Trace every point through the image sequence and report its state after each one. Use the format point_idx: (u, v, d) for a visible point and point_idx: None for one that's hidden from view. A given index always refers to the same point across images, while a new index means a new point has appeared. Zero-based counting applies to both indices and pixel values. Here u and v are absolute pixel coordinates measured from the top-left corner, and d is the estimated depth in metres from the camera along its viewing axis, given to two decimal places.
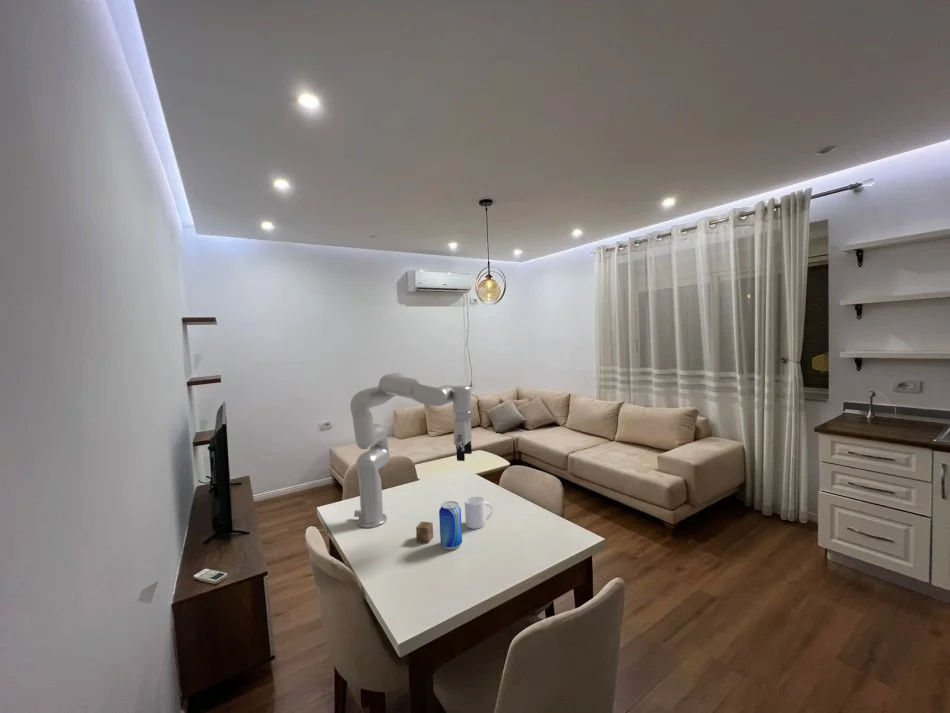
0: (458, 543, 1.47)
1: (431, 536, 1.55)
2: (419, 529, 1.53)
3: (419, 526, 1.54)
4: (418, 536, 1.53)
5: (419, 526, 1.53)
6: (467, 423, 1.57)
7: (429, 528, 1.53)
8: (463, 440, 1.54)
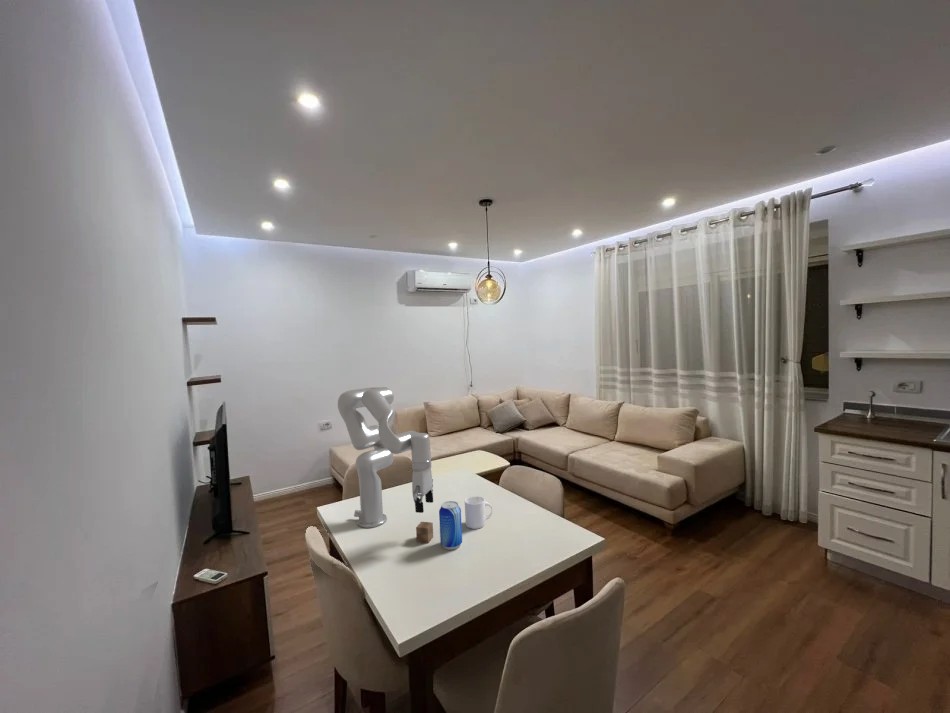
0: (458, 543, 1.47)
1: (431, 536, 1.55)
2: (419, 529, 1.53)
3: (419, 526, 1.54)
4: (418, 536, 1.53)
5: (419, 526, 1.53)
6: (426, 472, 1.52)
7: (429, 528, 1.53)
8: (421, 491, 1.49)
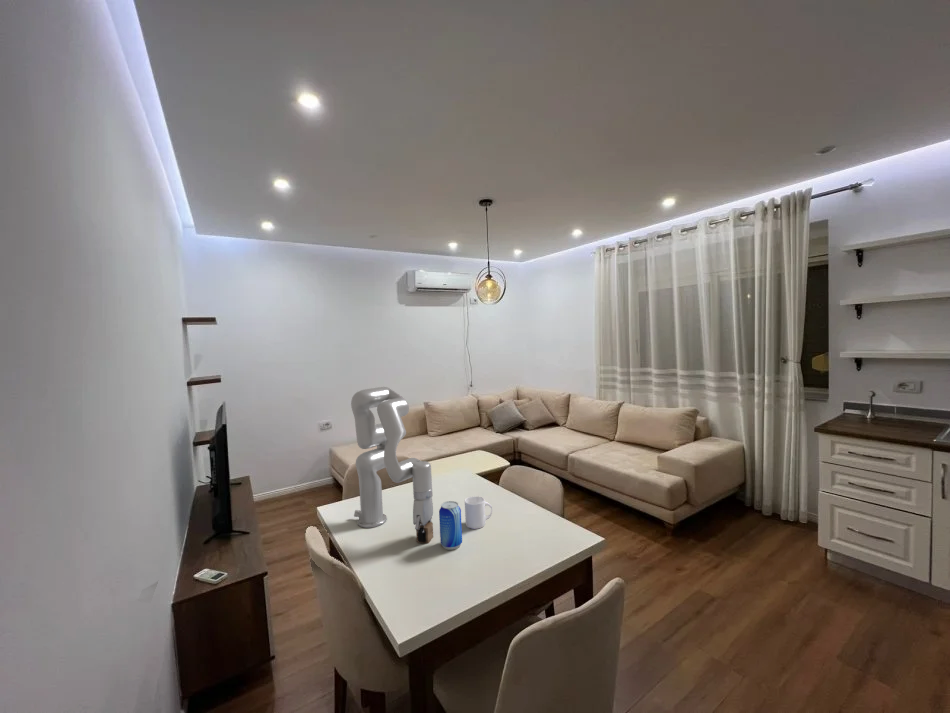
0: (458, 543, 1.47)
1: (431, 536, 1.55)
2: None
3: None
4: None
5: None
6: (427, 502, 1.52)
7: (429, 528, 1.53)
8: None
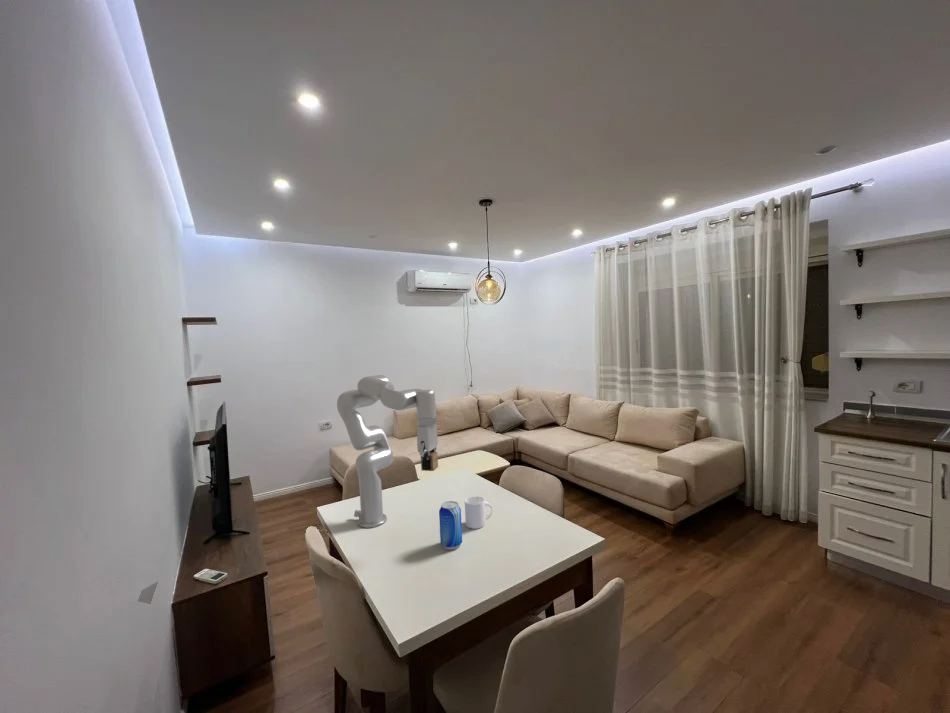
0: (458, 543, 1.47)
1: (436, 465, 1.52)
2: None
3: None
4: None
5: None
6: (431, 429, 1.50)
7: (434, 456, 1.51)
8: None
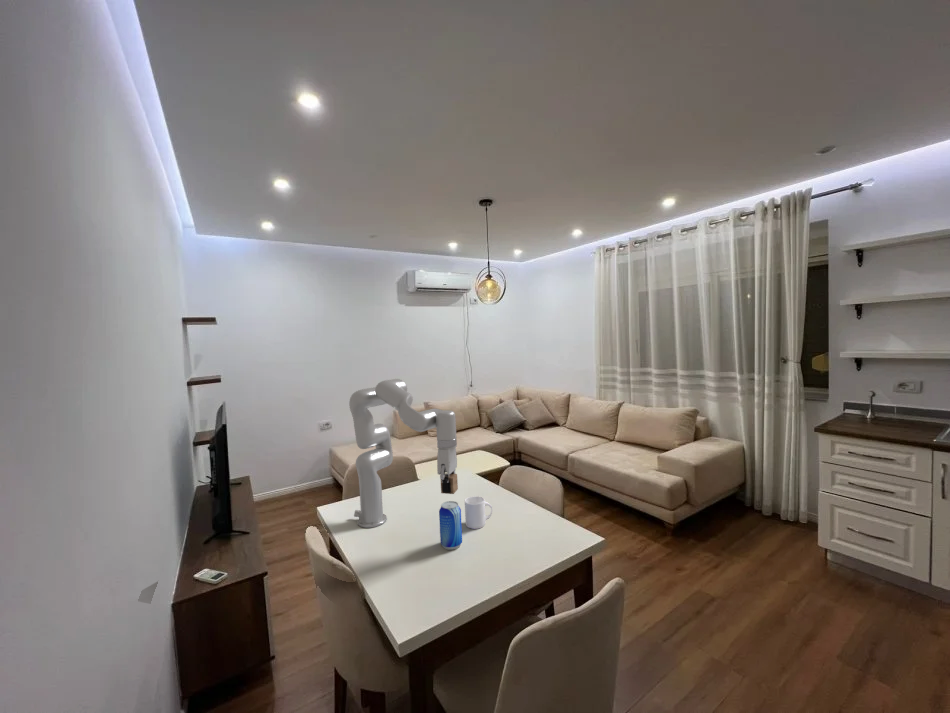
0: (458, 543, 1.47)
1: (456, 487, 1.49)
2: None
3: None
4: None
5: None
6: (451, 451, 1.46)
7: (454, 479, 1.47)
8: None
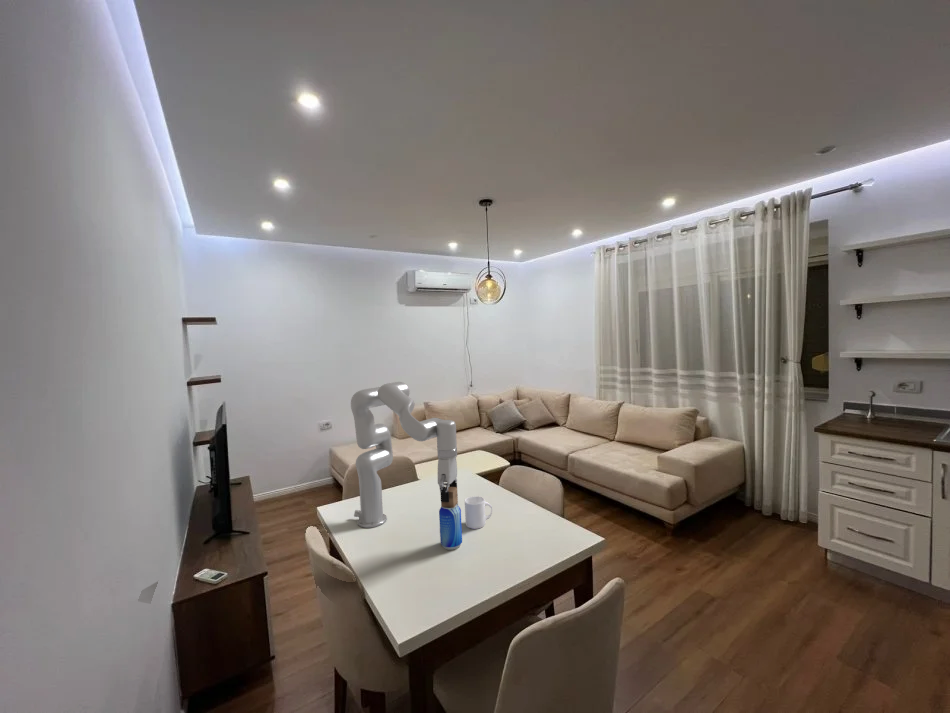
0: (458, 543, 1.47)
1: (456, 501, 1.49)
2: None
3: None
4: None
5: None
6: (452, 461, 1.46)
7: (454, 492, 1.47)
8: (447, 480, 1.44)
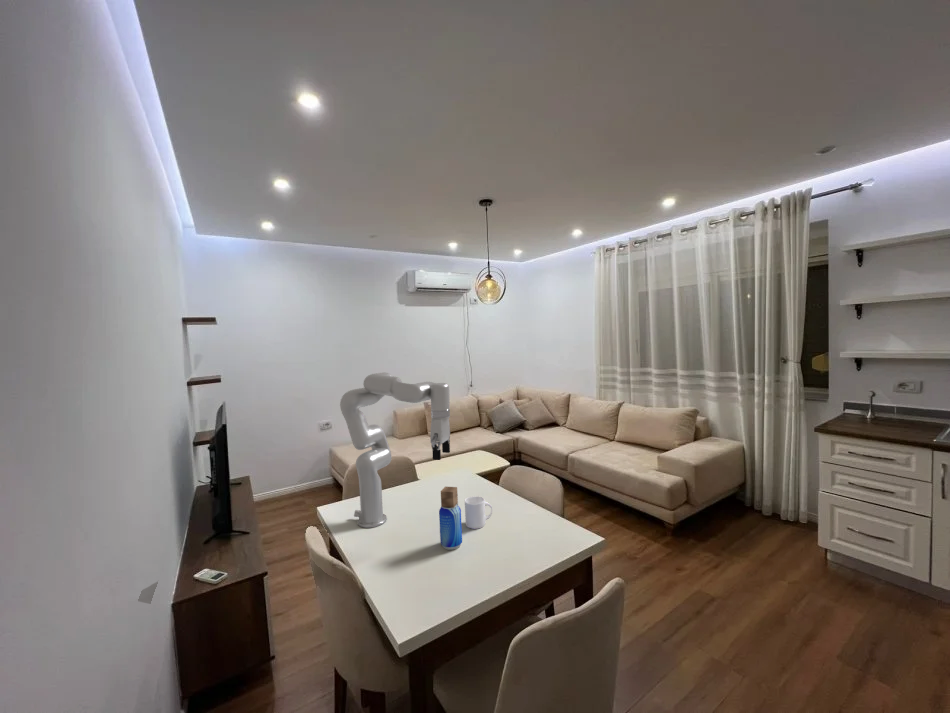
0: (458, 543, 1.47)
1: (456, 501, 1.49)
2: (444, 493, 1.47)
3: (444, 490, 1.48)
4: (443, 500, 1.47)
5: (444, 490, 1.48)
6: (444, 421, 1.53)
7: (454, 492, 1.47)
8: (439, 439, 1.50)
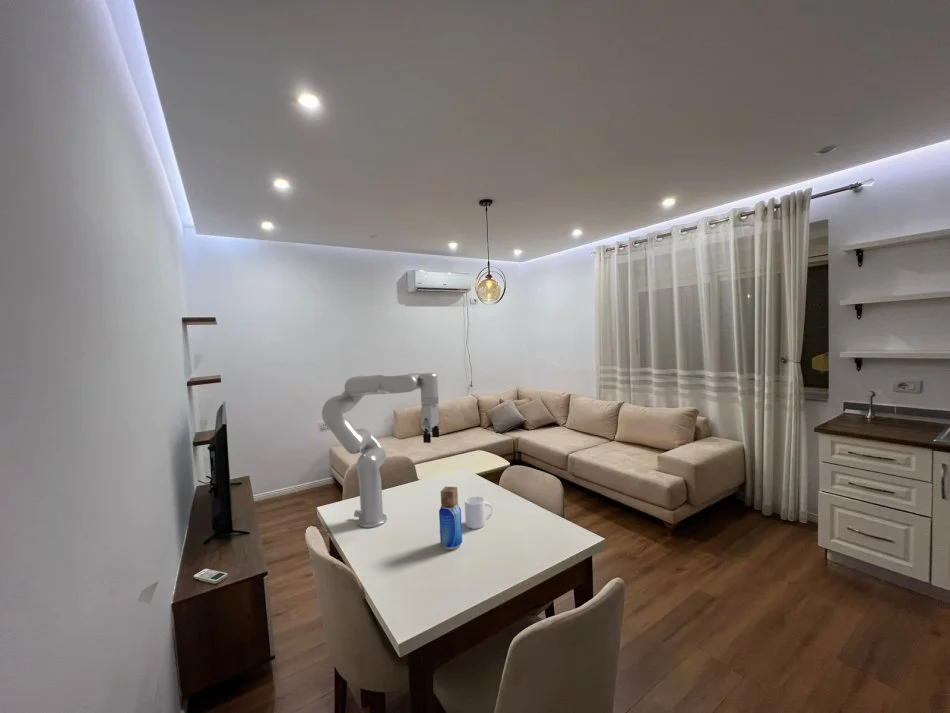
0: (458, 543, 1.47)
1: (456, 501, 1.49)
2: (444, 493, 1.47)
3: (444, 490, 1.48)
4: (443, 500, 1.47)
5: (444, 490, 1.48)
6: (433, 408, 1.67)
7: (454, 492, 1.47)
8: (429, 423, 1.64)
